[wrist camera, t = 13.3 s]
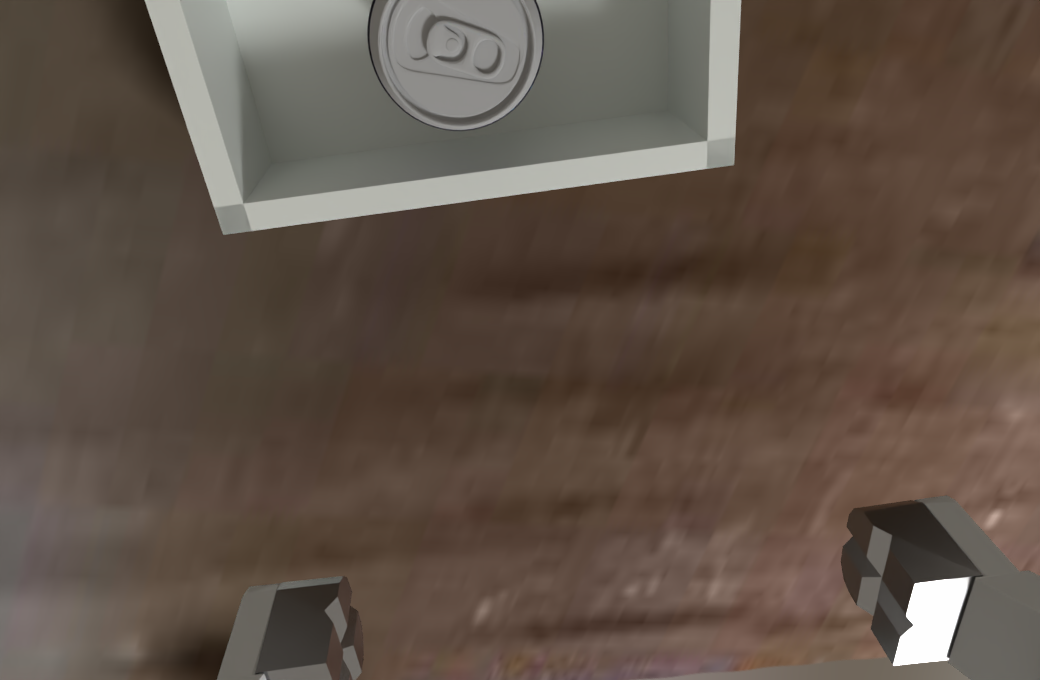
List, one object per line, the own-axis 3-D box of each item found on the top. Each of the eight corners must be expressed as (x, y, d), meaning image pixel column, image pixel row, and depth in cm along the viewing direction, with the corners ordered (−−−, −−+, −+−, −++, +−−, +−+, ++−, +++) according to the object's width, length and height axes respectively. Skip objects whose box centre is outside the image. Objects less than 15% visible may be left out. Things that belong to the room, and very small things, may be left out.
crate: (688, -210, 30) (751, -246, 24) (685, 127, 37) (734, 164, 31) (160, -147, 29) (88, -168, 23) (259, 184, 36) (223, 234, 30)
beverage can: (404, -82, 31) (387, -89, 20) (530, -35, 32) (575, -19, 22) (375, 54, 33) (346, 110, 23) (493, 92, 34) (516, 161, 24)
